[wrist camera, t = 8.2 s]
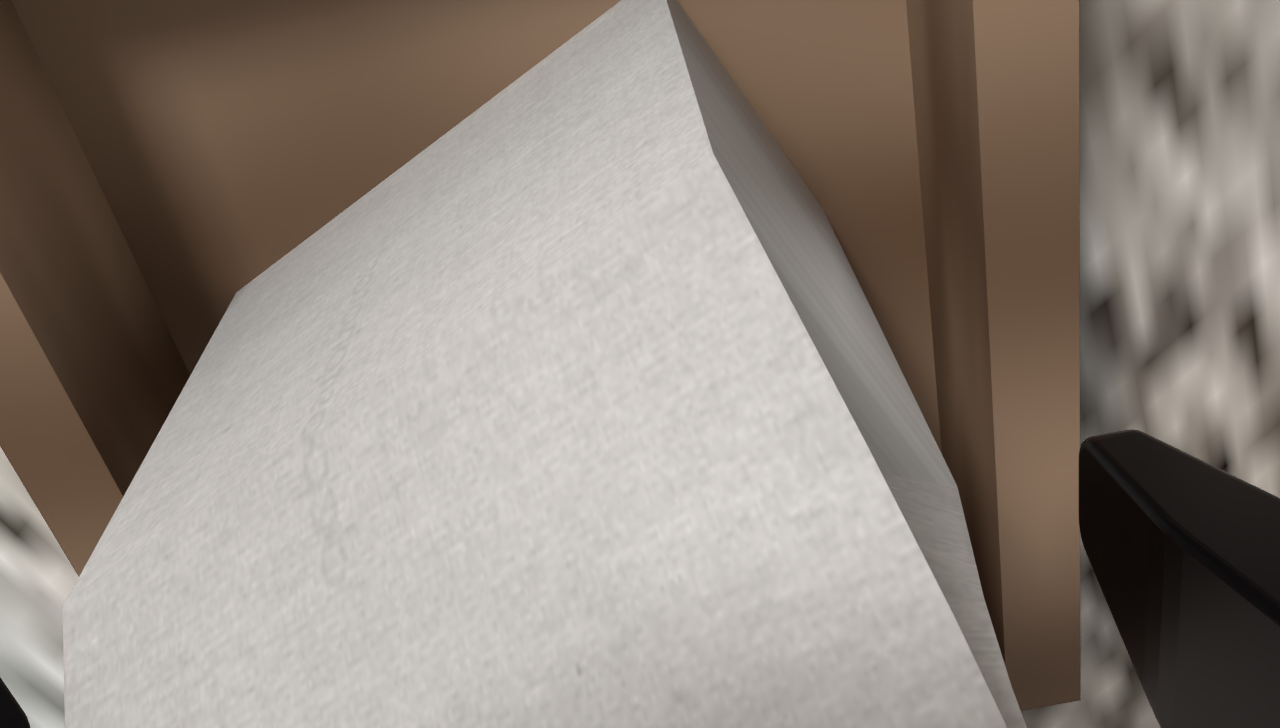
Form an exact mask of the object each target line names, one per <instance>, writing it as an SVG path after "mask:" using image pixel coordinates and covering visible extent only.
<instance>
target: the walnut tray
mask: <svg viewBox="0 0 1280 728" xmlns="http://www.w3.org/2000/svg"><path fill="white" fill-rule="evenodd" d="M620 1H621V0H0V446H1V448H2V450H3V451H4V453H5V455H6V456H7V458H8V460H9V461H10V463H11V465H12V466H13V468H14V470H15V471H16V473H17V475H18V476H19V478H20V480H21V481H22V483H23V485H24V486H25V488H26V490H27V491H28V493H29V495H30V496H31V498H32V500H33V501H34V503H35V505H36V506H37V508H38V510H39V511H40V513H41V515H42V516H43V518H44V520H45V521H46V523H47V525H48V526H49V528H50V530H51V531H52V533H53V535H54V536H55V538H56V540H57V541H58V543H59V545H60V546H61V548H62V550H63V551H64V553H65V555H66V556H67V558H68V560H69V561H70V563H71V565H72V566H73V568H74V570H75V571H76V573H77V574H78V576H80V574H81V573H82V571H83V569H84V567H85V565H86V564H87V562H88V560H89V558H90V556H91V555H92V553H93V551H94V549H95V547H96V546H97V544H98V542H99V540H100V538H101V536H102V535H103V533H104V531H105V529H106V527H107V526H108V524H109V522H110V520H111V518H112V517H113V515H114V513H115V511H116V509H117V508H118V506H119V504H120V502H121V500H122V498H123V497H124V495H125V493H126V491H127V489H128V488H129V486H130V484H131V482H132V480H133V479H134V477H135V475H136V473H137V471H138V470H139V468H140V466H141V464H142V462H143V460H144V459H145V457H146V455H147V453H148V451H149V450H150V448H151V446H152V444H153V442H154V441H155V439H156V437H157V435H158V433H159V432H160V430H161V428H162V426H163V424H164V422H165V421H166V419H167V417H168V415H169V413H170V412H171V410H172V408H173V406H174V404H175V403H176V401H177V399H178V397H179V395H180V394H181V392H182V390H183V388H184V386H185V384H186V383H187V381H188V379H189V377H190V375H191V374H192V372H193V370H194V368H195V366H196V365H197V363H198V361H199V359H200V357H201V356H202V354H203V352H204V350H205V348H206V346H207V345H208V343H209V341H210V339H211V337H212V336H213V334H214V332H215V330H216V328H217V327H218V325H219V323H220V321H221V319H222V318H223V316H224V314H225V312H226V310H227V308H228V307H229V305H230V303H231V301H232V299H233V298H234V296H235V294H236V292H238V291H239V290H240V289H242V288H243V287H244V286H245V285H247V284H248V283H249V282H251V281H252V280H253V279H255V278H256V277H257V276H259V275H260V274H261V273H263V272H264V271H265V270H267V269H268V268H269V267H271V266H272V265H273V264H274V263H276V262H277V261H278V260H280V259H281V258H282V257H284V256H285V255H286V254H288V253H289V252H290V251H292V250H293V249H294V248H296V247H297V246H298V245H299V244H301V243H302V242H303V241H305V240H306V239H307V238H309V237H310V236H311V235H313V234H314V233H315V232H317V231H318V230H319V229H321V228H322V227H323V226H325V225H326V224H327V223H328V222H330V221H331V220H332V219H334V218H335V217H336V216H338V215H339V214H340V213H342V212H343V211H344V210H346V209H347V208H348V207H350V206H351V205H352V204H353V203H355V202H356V201H357V200H359V199H360V198H361V197H363V196H364V195H365V194H367V193H368V192H369V191H371V190H372V189H373V188H375V187H376V186H377V185H379V184H380V183H381V182H382V181H384V180H385V179H386V178H388V177H389V176H390V175H392V174H393V173H394V172H396V171H397V170H398V169H400V168H401V167H402V166H404V165H405V164H406V163H407V162H409V161H410V160H411V159H413V158H414V157H415V156H417V155H418V154H419V153H421V152H422V151H423V150H425V149H426V148H427V147H429V146H430V145H431V144H433V143H434V142H435V141H436V140H438V139H439V138H440V137H442V136H443V135H444V134H446V133H447V132H448V131H450V130H451V129H452V128H454V127H455V126H456V125H458V124H459V123H460V122H461V121H463V120H464V119H465V118H467V117H468V116H469V115H471V114H472V113H473V112H475V111H476V110H477V109H479V108H480V107H481V106H483V105H484V104H485V103H487V102H488V101H489V100H490V99H492V98H493V97H494V96H496V95H497V94H498V93H500V92H501V91H502V90H504V89H505V88H506V87H508V86H509V85H510V84H512V83H513V82H514V81H515V80H517V79H518V78H519V77H521V76H522V75H523V74H525V73H526V72H527V71H529V70H530V69H531V68H533V67H534V66H535V65H537V64H538V63H539V62H541V61H542V60H543V59H544V58H546V57H547V56H548V55H550V54H551V53H552V52H554V51H555V50H556V49H558V48H559V47H560V46H562V45H563V44H564V43H566V42H567V41H568V40H569V39H571V38H572V37H573V36H575V35H576V34H577V33H579V32H580V31H581V30H583V29H584V28H585V27H587V26H588V25H589V24H591V23H592V22H593V21H595V20H596V19H597V18H598V17H600V16H601V15H602V14H604V13H605V12H606V11H608V10H609V9H610V8H612V7H613V6H614V5H616V4H617V3H618V2H620ZM678 2H679V3H680V5H681V6H682V8H683V9H684V11H685V12H686V13H687V15H688V16H689V18H690V19H691V21H692V22H693V23H694V25H695V26H696V28H697V29H698V31H699V32H700V33H701V35H702V36H703V38H704V39H705V41H706V42H707V44H708V45H709V46H710V48H711V49H712V51H713V52H714V54H715V55H716V56H717V58H718V59H719V61H720V62H721V64H722V65H723V66H724V68H725V69H726V71H727V72H728V74H729V75H730V77H731V78H732V79H733V81H734V82H735V84H736V85H737V87H738V88H739V89H740V91H741V92H742V94H743V95H744V97H745V98H746V99H747V101H748V102H749V104H750V105H751V107H752V108H753V110H754V111H755V112H756V114H757V115H758V117H759V118H760V120H761V121H762V122H763V124H764V125H765V127H766V128H767V130H768V131H769V132H770V134H771V135H772V137H773V138H774V140H775V141H776V143H777V144H778V145H779V147H780V148H781V150H782V151H783V153H784V154H785V155H786V157H787V158H788V160H789V161H790V163H791V164H792V165H793V167H794V168H795V170H796V171H797V173H798V174H799V176H800V177H801V178H802V180H803V181H804V183H805V184H806V186H807V187H808V188H809V190H810V191H811V193H812V194H813V196H814V197H815V198H816V200H817V201H818V203H819V204H820V206H821V207H822V209H823V210H824V212H825V214H826V216H827V218H828V220H829V222H830V224H831V226H832V228H833V230H834V233H835V235H836V237H837V239H838V241H839V243H840V245H841V247H842V249H843V251H844V253H845V255H846V257H847V259H848V261H849V264H850V266H851V268H852V270H853V272H854V274H855V276H856V278H857V280H858V282H859V284H860V286H861V288H862V290H863V292H864V295H865V297H866V299H867V301H868V303H869V305H870V307H871V309H872V311H873V313H874V315H875V317H876V319H877V321H878V323H879V326H880V328H881V330H882V332H883V334H884V336H885V338H886V340H887V342H888V344H889V346H890V348H891V350H892V352H893V354H894V357H895V359H896V361H897V363H898V365H899V367H900V369H901V371H902V373H903V375H904V377H905V379H906V381H907V383H908V386H909V388H910V390H911V392H912V394H913V396H914V398H915V400H916V402H917V404H918V406H919V408H920V410H921V412H922V414H923V417H924V419H925V421H926V423H927V425H928V427H929V429H930V431H931V433H932V435H933V437H934V439H935V441H936V443H937V445H938V448H939V450H940V452H941V454H942V456H943V458H944V460H945V462H946V464H947V466H948V468H949V470H950V472H951V474H952V476H953V479H954V481H955V483H956V485H957V487H958V491H959V496H960V500H961V504H962V508H963V512H964V516H965V521H966V525H967V529H968V533H969V537H970V542H971V546H972V550H973V554H974V558H975V562H976V567H977V571H978V575H979V579H980V583H981V588H982V592H983V596H984V599H985V603H986V606H987V609H988V612H989V615H990V619H991V622H992V625H993V628H994V631H995V635H996V638H997V641H998V644H999V648H1000V651H1001V654H1002V657H1003V660H1004V664H1005V667H1006V670H1007V673H1008V676H1009V680H1010V683H1011V686H1012V689H1013V692H1014V694H1015V697H1016V700H1017V702H1018V705H1019V708H1020V710H1021V711H1022V710H1028V709H1033V708H1039V707H1044V706H1050V705H1056V704H1061V703H1067V702H1072V701H1078V700H1080V527H1079V451H1080V254H1079V0H678Z"/></svg>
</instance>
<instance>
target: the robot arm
mask: <svg viewBox="0 0 1280 728" xmlns="http://www.w3.org/2000/svg"><path fill="white" fill-rule="evenodd" d="M1079 527H1080V533H1081V538H1082V542H1083V545H1084V548H1085V551H1086V553H1087V556H1088V558H1089V561H1090V563H1091V565H1092V568H1093V570H1094V572H1095V575H1096V577H1097V580H1098V582H1099V584H1100V587H1101V589H1102V592H1103V594H1104V596H1105V599H1106V601H1107V604H1108V606H1109V608H1110V611H1111V613H1112V615H1113V618H1114V620H1115V623H1116V625H1117V627H1118V630H1119V632H1120V635H1121V637H1122V639H1123V642H1124V644H1125V647H1126V649H1127V651H1128V654H1129V656H1130V658H1131V661H1132V663H1133V666H1134V668H1135V670H1136V673H1137V675H1138V678H1139V680H1140V682H1141V685H1142V687H1143V689H1144V692H1145V694H1146V696H1147V699H1148V701H1149V703H1150V705H1151V708H1152V710H1153V712H1154V714H1155V717H1156V719H1157V721H1158V723H1159V724H1160V726H1161V728H1280V498H1278V497H1276V496H1274V495H1272V494H1270V493H1268V492H1266V491H1264V490H1262V489H1260V488H1258V487H1256V486H1253V485H1251V484H1249V483H1247V482H1245V481H1243V480H1241V479H1239V478H1237V477H1235V476H1233V475H1231V474H1229V473H1227V472H1225V471H1222V470H1220V469H1218V468H1216V467H1214V466H1212V465H1210V464H1208V463H1206V462H1204V461H1202V460H1200V459H1198V458H1196V457H1194V456H1191V455H1189V454H1187V453H1185V452H1183V451H1181V450H1179V449H1177V448H1175V447H1173V446H1171V445H1169V444H1167V443H1165V442H1163V441H1160V440H1158V439H1156V438H1154V437H1152V436H1150V435H1148V434H1146V433H1144V432H1141V431H1138V430H1124V431H1119V432H1113V433H1108V434H1103V435H1098V436H1093V437H1089V438H1087V439H1086V440H1085V441H1084V442H1083V443H1082V444H1081V447H1080V451H1079ZM0 728H30V725H29V722H28V719H27V716H26V715H25V713H24V711H23V710H22V708H21V707H20V705H19V704H18V702H17V701H16V700H15V698H14V697H13V695H12V694H11V692H10V691H9V689H8V688H7V686H6V685H5V684H4V682H3V681H2V679H1V678H0Z"/></svg>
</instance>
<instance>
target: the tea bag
mask: <svg viewBox="0 0 1280 728" xmlns="http://www.w3.org/2000/svg"><path fill="white" fill-rule="evenodd" d="M63 647H64V697H65V728H1027V726H1026V723H1025V721H1024V718H1023V716H1022V713H1021V710H1020V708H1019V705H1018V702H1017V700H1016V697H1015V694H1014V692H1013V689H1012V686H1011V683H1010V680H1009V676H1008V673H1007V670H1006V667H1005V664H1004V660H1003V657H1002V654H1001V651H1000V648H999V644H998V641H997V638H996V635H995V631H994V628H993V625H992V622H991V619H990V615H989V612H988V609H987V606H986V603H985V599H984V596H983V592H982V588H981V583H980V579H979V575H978V571H977V567H976V562H975V558H974V554H973V550H972V546H971V542H970V537H969V533H968V529H967V525H966V521H965V516H964V512H963V508H962V504H961V500H960V496H959V491H958V487H957V485H956V483H955V481H954V479H953V476H952V474H951V472H950V470H949V468H948V466H947V464H946V462H945V460H944V458H943V456H942V454H941V452H940V450H939V448H938V445H937V443H936V441H935V439H934V437H933V435H932V433H931V431H930V429H929V427H928V425H927V423H926V421H925V419H924V417H923V414H922V412H921V410H920V408H919V406H918V404H917V402H916V400H915V398H914V396H913V394H912V392H911V390H910V388H909V386H908V383H907V381H906V379H905V377H904V375H903V373H902V371H901V369H900V367H899V365H898V363H897V361H896V359H895V357H894V354H893V352H892V350H891V348H890V346H889V344H888V342H887V340H886V338H885V336H884V334H883V332H882V330H881V328H880V326H879V323H878V321H877V319H876V317H875V315H874V313H873V311H872V309H871V307H870V305H869V303H868V301H867V299H866V297H865V295H864V292H863V290H862V288H861V286H860V284H859V282H858V280H857V278H856V276H855V274H854V272H853V270H852V268H851V266H850V264H849V261H848V259H847V257H846V255H845V253H844V251H843V249H842V247H841V245H840V243H839V241H838V239H837V237H836V235H835V233H834V230H833V228H832V226H831V224H830V222H829V220H828V218H827V216H826V214H825V212H824V210H823V209H822V207H821V206H820V204H819V203H818V201H817V200H816V198H815V197H814V196H813V194H812V193H811V191H810V190H809V188H808V187H807V186H806V184H805V183H804V181H803V180H802V178H801V177H800V176H799V174H798V173H797V171H796V170H795V168H794V167H793V165H792V164H791V163H790V161H789V160H788V158H787V157H786V155H785V154H784V153H783V151H782V150H781V148H780V147H779V145H778V144H777V143H776V141H775V140H774V138H773V137H772V135H771V134H770V132H769V131H768V130H767V128H766V127H765V125H764V124H763V122H762V121H761V120H760V118H759V117H758V115H757V114H756V112H755V111H754V110H753V108H752V107H751V105H750V104H749V102H748V101H747V99H746V98H745V97H744V95H743V94H742V92H741V91H740V89H739V88H738V87H737V85H736V84H735V82H734V81H733V79H732V78H731V77H730V75H729V74H728V72H727V71H726V69H725V68H724V66H723V65H722V64H721V62H720V61H719V59H718V58H717V56H716V55H715V54H714V52H713V51H712V49H711V48H710V46H709V45H708V44H707V42H706V41H705V39H704V38H703V36H702V35H701V33H700V32H699V31H698V29H697V28H696V26H695V25H694V23H693V22H692V21H691V19H690V18H689V16H688V15H687V13H686V12H685V11H684V9H683V8H682V6H681V5H680V3H679V2H678V0H621V1H620V2H618V3H617V4H616V5H614V6H613V7H612V8H610V9H609V10H608V11H606V12H605V13H604V14H602V15H601V16H600V17H598V18H597V19H596V20H595V21H593V22H592V23H591V24H589V25H588V26H587V27H585V28H584V29H583V30H581V31H580V32H579V33H577V34H576V35H575V36H573V37H572V38H571V39H569V40H568V41H567V42H566V43H564V44H563V45H562V46H560V47H559V48H558V49H556V50H555V51H554V52H552V53H551V54H550V55H548V56H547V57H546V58H544V59H543V60H542V61H541V62H539V63H538V64H537V65H535V66H534V67H533V68H531V69H530V70H529V71H527V72H526V73H525V74H523V75H522V76H521V77H519V78H518V79H517V80H515V81H514V82H513V83H512V84H510V85H509V86H508V87H506V88H505V89H504V90H502V91H501V92H500V93H498V94H497V95H496V96H494V97H493V98H492V99H490V100H489V101H488V102H487V103H485V104H484V105H483V106H481V107H480V108H479V109H477V110H476V111H475V112H473V113H472V114H471V115H469V116H468V117H467V118H465V119H464V120H463V121H461V122H460V123H459V124H458V125H456V126H455V127H454V128H452V129H451V130H450V131H448V132H447V133H446V134H444V135H443V136H442V137H440V138H439V139H438V140H436V141H435V142H434V143H433V144H431V145H430V146H429V147H427V148H426V149H425V150H423V151H422V152H421V153H419V154H418V155H417V156H415V157H414V158H413V159H411V160H410V161H409V162H407V163H406V164H405V165H404V166H402V167H401V168H400V169H398V170H397V171H396V172H394V173H393V174H392V175H390V176H389V177H388V178H386V179H385V180H384V181H382V182H381V183H380V184H379V185H377V186H376V187H375V188H373V189H372V190H371V191H369V192H368V193H367V194H365V195H364V196H363V197H361V198H360V199H359V200H357V201H356V202H355V203H353V204H352V205H351V206H350V207H348V208H347V209H346V210H344V211H343V212H342V213H340V214H339V215H338V216H336V217H335V218H334V219H332V220H331V221H330V222H328V223H327V224H326V225H325V226H323V227H322V228H321V229H319V230H318V231H317V232H315V233H314V234H313V235H311V236H310V237H309V238H307V239H306V240H305V241H303V242H302V243H301V244H299V245H298V246H297V247H296V248H294V249H293V250H292V251H290V252H289V253H288V254H286V255H285V256H284V257H282V258H281V259H280V260H278V261H277V262H276V263H274V264H273V265H272V266H271V267H269V268H268V269H267V270H265V271H264V272H263V273H261V274H260V275H259V276H257V277H256V278H255V279H253V280H252V281H251V282H249V283H248V284H247V285H245V286H244V287H243V288H242V289H240V290H239V291H238V292H236V294H235V296H234V298H233V299H232V301H231V303H230V305H229V307H228V308H227V310H226V312H225V314H224V316H223V318H222V319H221V321H220V323H219V325H218V327H217V328H216V330H215V332H214V334H213V336H212V337H211V339H210V341H209V343H208V345H207V346H206V348H205V350H204V352H203V354H202V356H201V357H200V359H199V361H198V363H197V365H196V366H195V368H194V370H193V372H192V374H191V375H190V377H189V379H188V381H187V383H186V384H185V386H184V388H183V390H182V392H181V394H180V395H179V397H178V399H177V401H176V403H175V404H174V406H173V408H172V410H171V412H170V413H169V415H168V417H167V419H166V421H165V422H164V424H163V426H162V428H161V430H160V432H159V433H158V435H157V437H156V439H155V441H154V442H153V444H152V446H151V448H150V450H149V451H148V453H147V455H146V457H145V459H144V460H143V462H142V464H141V466H140V468H139V470H138V471H137V473H136V475H135V477H134V479H133V480H132V482H131V484H130V486H129V488H128V489H127V491H126V493H125V495H124V497H123V498H122V500H121V502H120V504H119V506H118V508H117V509H116V511H115V513H114V515H113V517H112V518H111V520H110V522H109V524H108V526H107V527H106V529H105V531H104V533H103V535H102V536H101V538H100V540H99V542H98V544H97V546H96V547H95V549H94V551H93V553H92V555H91V556H90V558H89V560H88V562H87V564H86V565H85V567H84V569H83V571H82V573H81V574H80V576H79V578H78V580H77V582H76V584H75V585H74V587H73V589H72V591H71V593H70V594H69V596H68V598H67V600H66V602H65V603H64V605H63Z"/></svg>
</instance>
